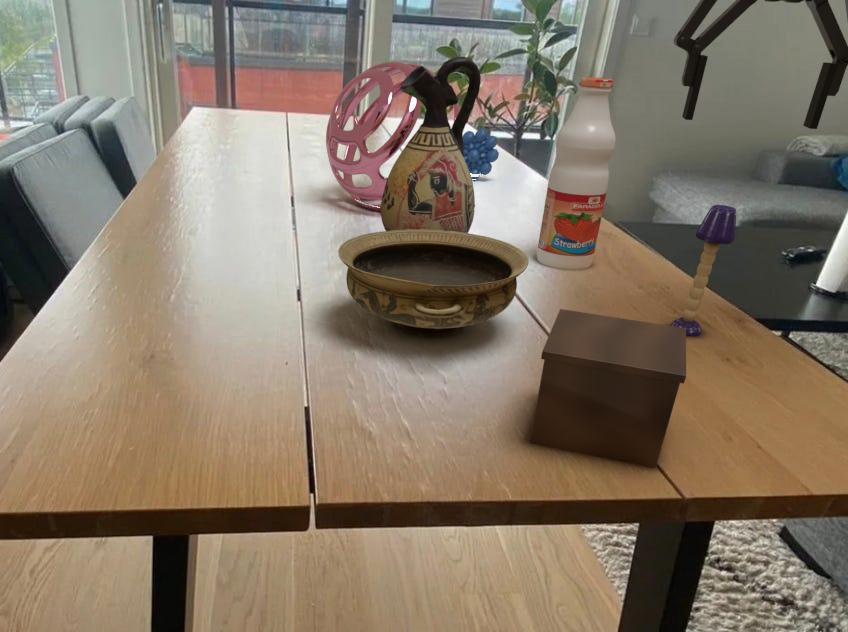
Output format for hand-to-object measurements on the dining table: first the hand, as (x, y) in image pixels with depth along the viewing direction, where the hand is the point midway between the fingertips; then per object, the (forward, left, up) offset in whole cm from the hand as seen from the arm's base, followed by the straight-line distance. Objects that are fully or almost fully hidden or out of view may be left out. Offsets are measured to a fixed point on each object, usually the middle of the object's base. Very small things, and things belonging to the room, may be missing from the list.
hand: (747, 123), depth 89 cm
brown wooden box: (+9, +33, -26) cm, 43 cm away
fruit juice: (+20, -28, -26) cm, 43 cm away
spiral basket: (+60, -51, -26) cm, 83 cm away
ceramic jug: (+42, -21, -26) cm, 54 cm away
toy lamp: (0, -2, -27) cm, 27 cm away
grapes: (+50, -89, -27) cm, 106 cm away
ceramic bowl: (+33, +12, -26) cm, 44 cm away
